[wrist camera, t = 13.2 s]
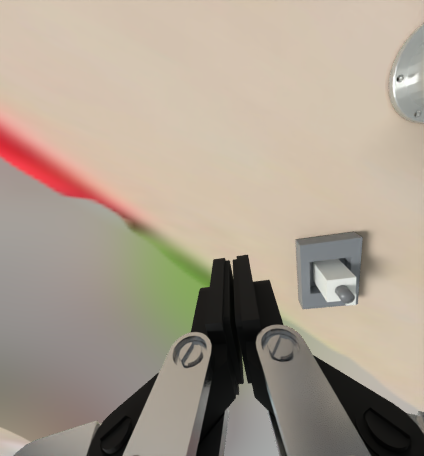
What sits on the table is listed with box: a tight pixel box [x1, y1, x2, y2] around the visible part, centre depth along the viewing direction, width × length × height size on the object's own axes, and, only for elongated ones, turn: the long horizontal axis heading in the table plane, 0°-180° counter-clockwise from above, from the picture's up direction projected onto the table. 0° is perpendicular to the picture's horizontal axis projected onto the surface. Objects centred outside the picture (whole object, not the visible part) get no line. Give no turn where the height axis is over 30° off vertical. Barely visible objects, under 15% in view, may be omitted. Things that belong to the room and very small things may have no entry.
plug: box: [313, 259, 356, 304], centre depth 35 cm, size 4×4×8 cm
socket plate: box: [296, 232, 363, 309], centre depth 38 cm, size 10×14×3 cm
